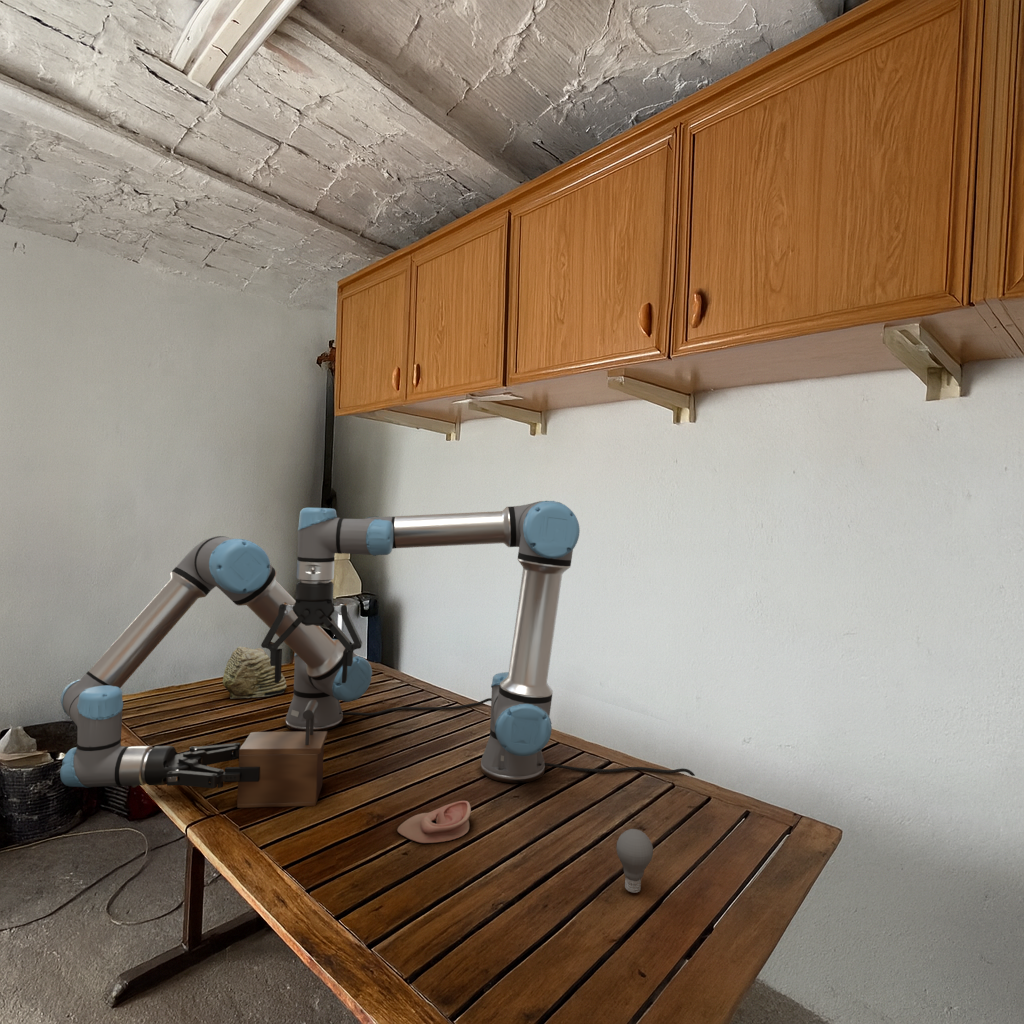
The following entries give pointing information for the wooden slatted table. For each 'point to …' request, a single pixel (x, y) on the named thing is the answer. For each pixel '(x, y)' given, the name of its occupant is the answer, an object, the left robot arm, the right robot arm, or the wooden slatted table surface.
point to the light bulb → (634, 857)
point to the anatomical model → (438, 824)
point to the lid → (287, 739)
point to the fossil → (251, 674)
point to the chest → (282, 780)
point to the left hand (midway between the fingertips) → (265, 763)
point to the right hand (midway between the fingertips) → (311, 681)
